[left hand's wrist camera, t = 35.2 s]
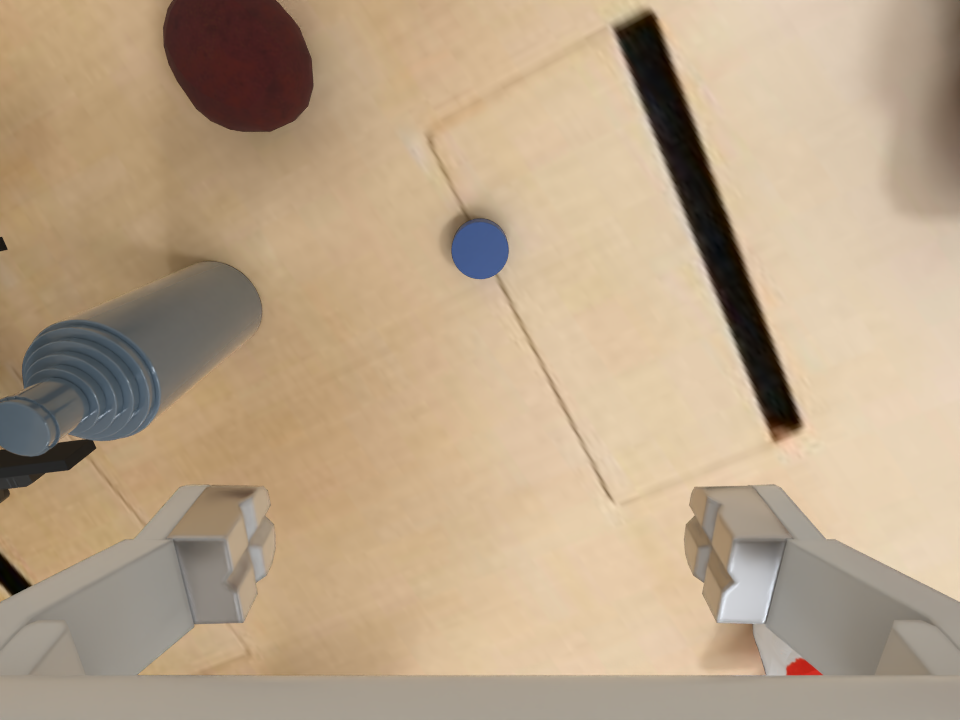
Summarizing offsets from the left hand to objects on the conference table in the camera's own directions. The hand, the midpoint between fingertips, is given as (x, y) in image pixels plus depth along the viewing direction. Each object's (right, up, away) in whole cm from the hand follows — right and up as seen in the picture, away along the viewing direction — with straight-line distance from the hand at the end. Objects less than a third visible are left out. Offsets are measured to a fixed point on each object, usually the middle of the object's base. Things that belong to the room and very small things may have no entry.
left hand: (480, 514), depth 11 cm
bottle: (-19, +7, +29) cm, 35 cm away
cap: (0, +10, +26) cm, 28 cm away
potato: (-13, +21, +23) cm, 34 cm away
